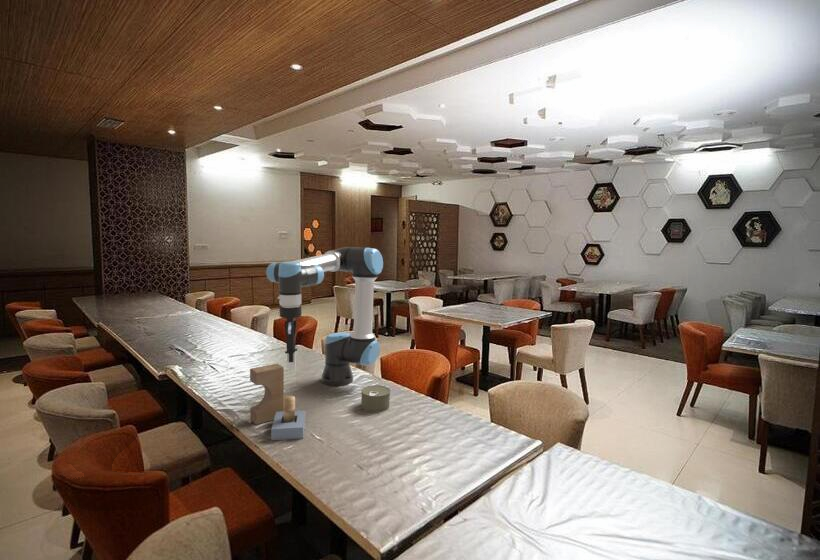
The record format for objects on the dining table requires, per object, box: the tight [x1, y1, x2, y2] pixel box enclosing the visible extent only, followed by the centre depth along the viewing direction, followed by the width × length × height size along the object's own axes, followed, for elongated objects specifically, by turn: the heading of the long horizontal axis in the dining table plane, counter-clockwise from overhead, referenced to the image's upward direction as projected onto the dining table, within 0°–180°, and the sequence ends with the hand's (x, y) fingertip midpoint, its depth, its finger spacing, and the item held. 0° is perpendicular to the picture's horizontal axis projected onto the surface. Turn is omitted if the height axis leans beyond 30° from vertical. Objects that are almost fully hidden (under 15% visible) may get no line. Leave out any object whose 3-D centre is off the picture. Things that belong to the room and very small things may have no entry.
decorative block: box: [249, 363, 285, 425], centre depth 156 cm, size 11×6×20 cm, turn 130°
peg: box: [283, 395, 296, 423], centre depth 148 cm, size 4×4×12 cm
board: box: [270, 409, 306, 441], centre depth 148 cm, size 10×14×4 cm
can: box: [360, 385, 391, 413], centre depth 171 cm, size 12×12×7 cm
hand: (291, 369), depth 150 cm, fingers closed
